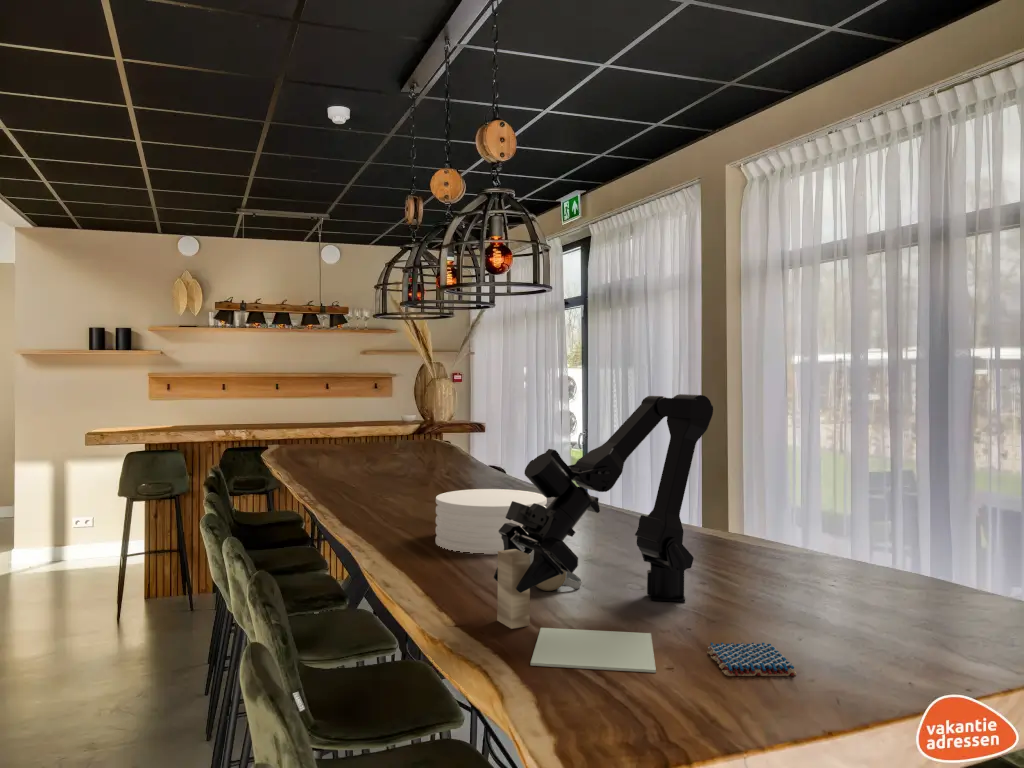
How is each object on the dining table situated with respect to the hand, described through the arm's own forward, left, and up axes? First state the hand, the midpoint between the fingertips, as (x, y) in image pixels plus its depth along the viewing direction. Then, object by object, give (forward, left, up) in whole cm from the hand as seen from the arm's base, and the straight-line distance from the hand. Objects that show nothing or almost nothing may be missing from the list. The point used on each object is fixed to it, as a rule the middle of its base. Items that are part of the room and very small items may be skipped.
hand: (506, 585), depth 133 cm
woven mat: (-38, +12, -7) cm, 41 cm away
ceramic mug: (-6, -25, -7) cm, 27 cm away
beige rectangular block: (-1, -1, -7) cm, 7 cm away
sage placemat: (-15, +10, -7) cm, 19 cm away
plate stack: (+13, -65, -7) cm, 66 cm away
